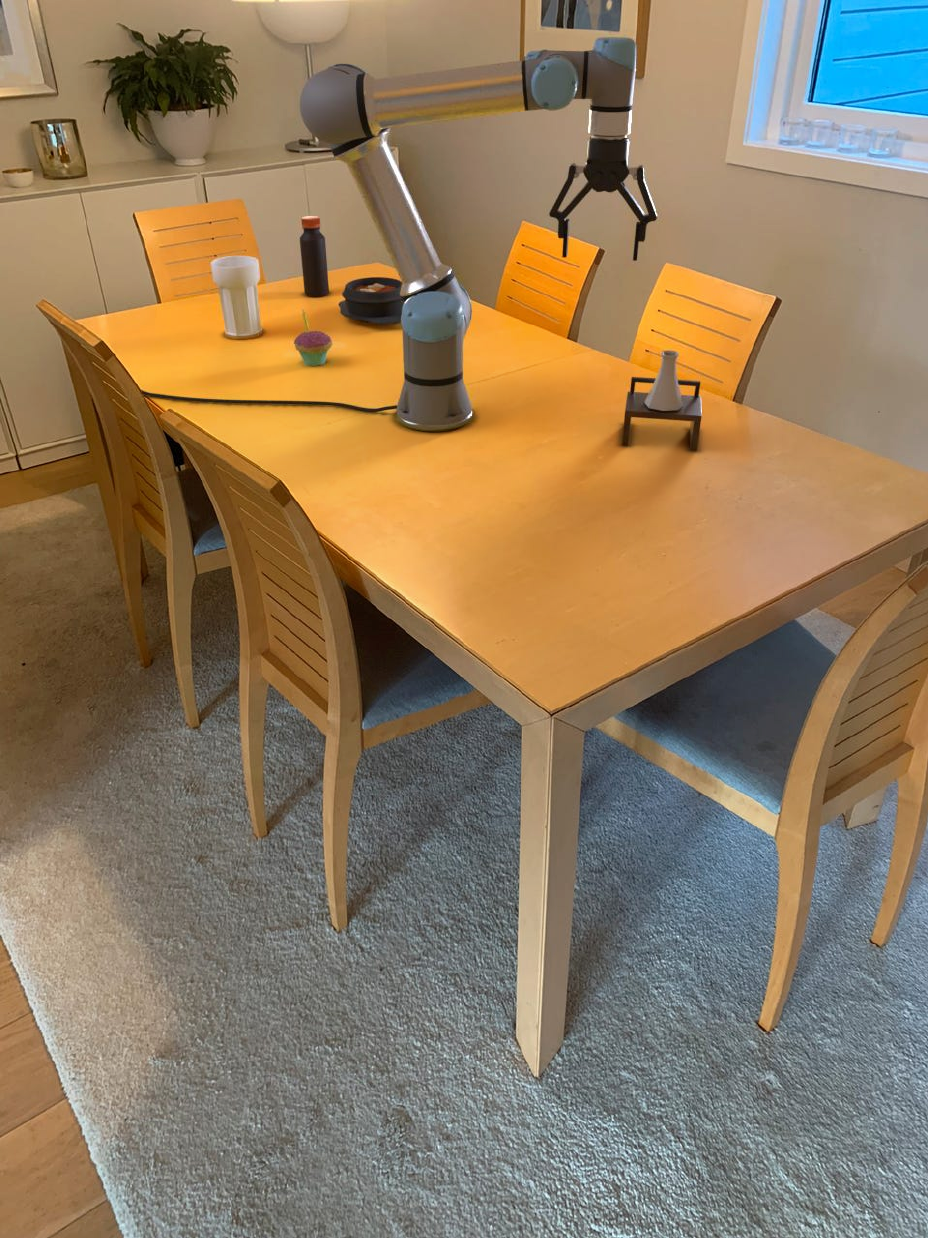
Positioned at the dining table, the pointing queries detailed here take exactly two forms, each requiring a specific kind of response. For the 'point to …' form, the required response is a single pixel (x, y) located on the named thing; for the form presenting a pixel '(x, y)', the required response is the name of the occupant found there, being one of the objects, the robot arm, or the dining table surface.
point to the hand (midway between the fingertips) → (599, 257)
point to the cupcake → (312, 345)
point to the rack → (685, 413)
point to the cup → (238, 295)
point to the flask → (666, 385)
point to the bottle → (313, 258)
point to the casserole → (373, 300)
